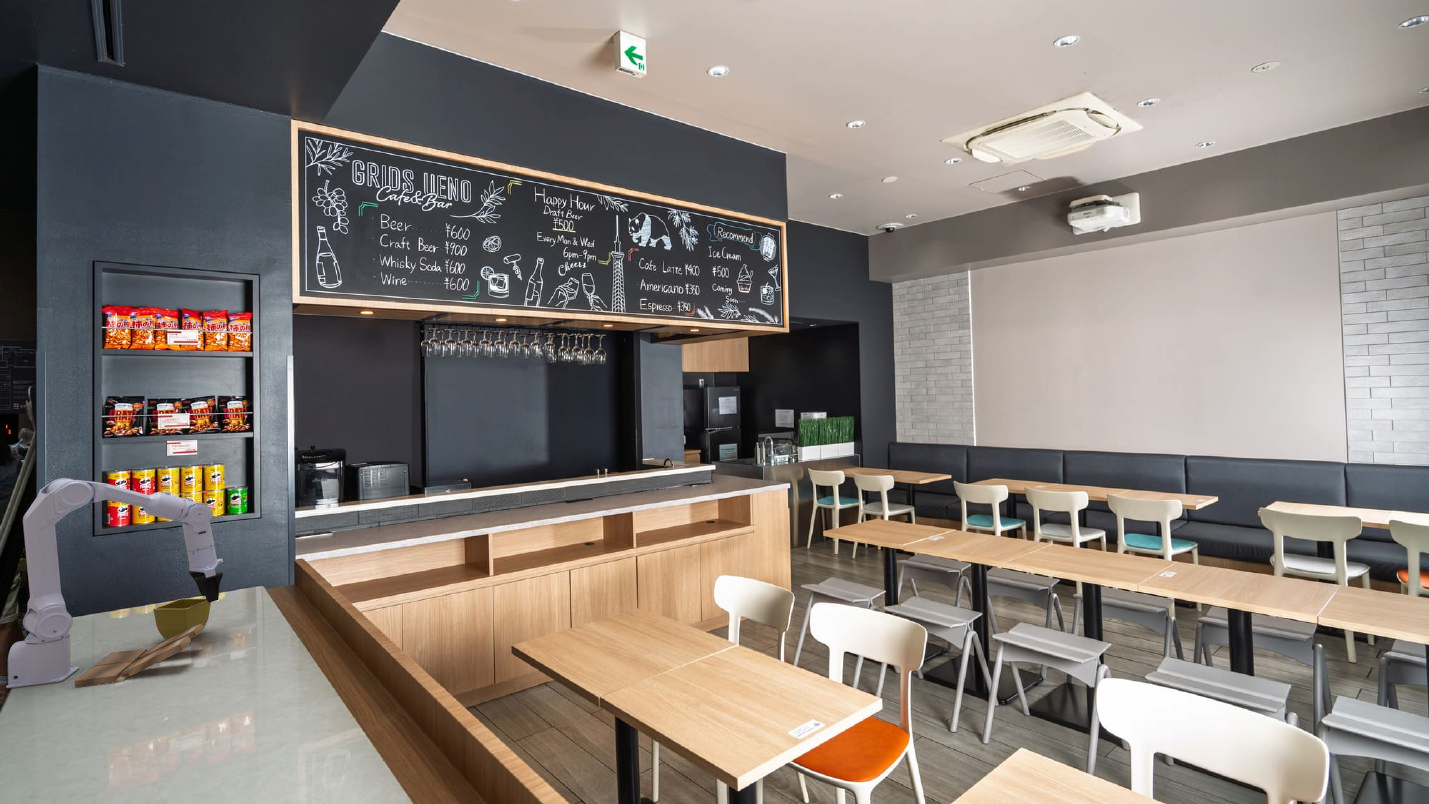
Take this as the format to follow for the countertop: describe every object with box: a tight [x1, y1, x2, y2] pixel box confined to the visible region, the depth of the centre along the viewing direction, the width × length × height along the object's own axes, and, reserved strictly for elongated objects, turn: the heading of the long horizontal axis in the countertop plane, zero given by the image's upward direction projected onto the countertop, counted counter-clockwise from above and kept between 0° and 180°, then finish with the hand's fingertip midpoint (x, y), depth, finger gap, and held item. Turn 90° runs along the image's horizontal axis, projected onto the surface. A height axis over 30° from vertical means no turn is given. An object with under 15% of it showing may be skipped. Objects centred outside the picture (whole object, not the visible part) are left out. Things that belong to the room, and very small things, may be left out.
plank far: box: [139, 623, 205, 660], centre depth 164 cm, size 12×6×2 cm, turn 112°
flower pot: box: [152, 598, 212, 641], centre depth 177 cm, size 9×9×9 cm
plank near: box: [121, 636, 192, 677], centre depth 155 cm, size 12×6×2 cm, turn 112°
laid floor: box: [74, 647, 149, 689], centre depth 156 cm, size 8×18×2 cm, turn 23°
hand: (210, 597), depth 177 cm, fingers open, 7 cm apart
